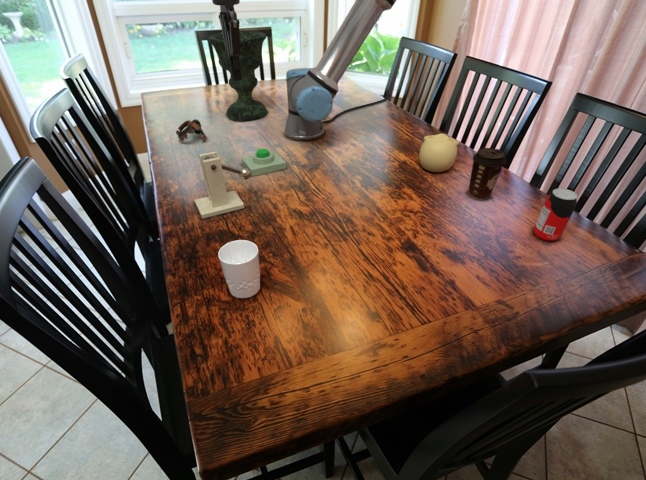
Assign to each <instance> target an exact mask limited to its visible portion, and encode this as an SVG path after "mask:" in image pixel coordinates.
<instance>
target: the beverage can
mask: <svg viewBox="0 0 646 480" xmlns="http://www.w3.org/2000/svg"><path fill="white" fill-rule="evenodd" d="M577 198H578V195H577V193H576V192H574V191H573V190H572V189H571V190H570V189H568V188H560V187H559V188H555V189H553V190H552V192H551V193H549V194H548V195H547V197H546V199H545V201H544V204H543V206H542V208H541V210H540V213H539V214H538V217H537V218H536V219H537V220H536V221H535V224H534V227H533V233H534V234H535V236H536V237H537V238H539V239H540V240H542V241H546V242H553V241H557V240H559V239H560V238H561V237H562V235H563V233H564V231H565V229H566V227H567V225H568V223H569V221H570V219H571V217H572V215H573V213H574V210H576V207H577V205H578V200H577Z"/></svg>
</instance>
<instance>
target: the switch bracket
mask: <svg viewBox="0 0 646 480" xmlns="http://www.w3.org/2000/svg"><path fill="white" fill-rule="evenodd" d="M217 155H218V154H217V151H211V152H205V153H201V154H198V157H199V162H200V165H201V170H202V174H203V175H202V176H203V179H204V183H205V189H206V192H207V196H205V197H200V198H196V199H194V204H195V206H196V208H197V211H198V213H199V215H200V218H201V219H202V220H203V219H207V218H211V217H215V216H218V215H219V216H220V215H222V214H227V213H231V212H234V211H235V212H236V211H238V210H242V209H243V210H244V209H246V208H245V207H246V206H245V204H244V202H243V201H242V199H241V197H240V196H239V194H238V193H237V191H236V190H230V191H227V187H226V182H225V177H224V171H223V170H224V169H222V165H221V164H222V160H221V158H220V157H219V156H217ZM206 156H209V157H212V158H213V159H208V160H205V158H206Z"/></svg>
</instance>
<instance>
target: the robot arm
mask: <svg viewBox="0 0 646 480" xmlns="http://www.w3.org/2000/svg"><path fill="white" fill-rule="evenodd" d="M211 1H212V4H213V5H215V6H219V10H220V12H219V14H218V20H219V23H220V28H221V32H222V33H223V38H224V43H225V48H226V52H227V53H228V58H229V61H230V68H231V75H232V80H233V81H239V80H242V76H241V69H240V61H239V56H241V49H240V33H239V31H240V22H241V21H240V20H239V18H238V14H237V12H236V10H235V5H239V4H240V2H241V0H211ZM396 2H397V0H355V1H354V3H353V4H352V6H351V7H350V10H349V11H348V12H347V14H346V16H345V17H344V20H343V21H342V23H341V25H340V26H339V28H338V30H337V32H336V33H335V34H334V36H333V38H332V40H331V42H330V43H329V44H328V47H327V48H326V50H325V51H324V53H323V54H322V57H321V58H320V60H319V61H318V63H317V64H316V66H315V67H301V68H300V67H299V68H292V69H288V70H287V71H286V74H285V82H286V95H287V110H288V114H287V118H286V123H285V127H284V135H285V137H286V138H288V139H290V140H294V141H300V142H302V141H314V140H317V139H320V138H321V137H323V136H324V133H325V127H324V124H329V123H331V122H333V121H334V120H336V118H338V117H340V116H341V115H343V114H345V113H348V112H350V111H353V110H357V109H361V108H366V107H370V106H374V105H378V104H380V103H383V102H385V101H387V100H388V99H389V98H390V97H391V93H387V95H386V97H385V98H383V99H380V100H377V101H373V102H370V103H365V104H363V105H357V106H353V107H350V108H348V109H345V110H343V111H340V112H339V113H337V114H335V115H334V116H333V117H332V118H330V119H328V120H325V119H327V118H328V117H329V115H330V114H331V112H332V110H333V106H334V99H335V97H336V96H337V94H338V92H339V83H340V81H341V80H342V77H343V76H344V74H345V73H346V71H347V69H348V68H349V66H350V64H351V63H352V62H353V60H354V59H355V57H356V56H357V53H358V52H359V51H360V49H361V48H362V46H363V44H365V43H364V42H365V41H366V39H367V38H368V37H369V35H370V33H371V31H372V30H373V28H374V27H375V25H376V24H377V22H378V21H379V19H380V18H381V16H382V14H383V13H384V12H385V11H389V10H392V8H393V7H394V5H395V3H396Z"/></svg>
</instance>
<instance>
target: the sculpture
mask: <svg viewBox="0 0 646 480" xmlns="http://www.w3.org/2000/svg"><path fill="white" fill-rule="evenodd" d="M459 145H460V141H458V140H457V139H456V138H455V139H454V138H453V137H450V136H448V135H447V134H446V133H438V134H432V135H431V134H430V135H425V136H423V142H422V144H421V146H420V150H419V153H418V160H419V164H420V166H421V167H422V168H423V169H424V170H425V171H429V172H431V173H442V172H445V171H448V170H449V169H450V168H452V166H453V165H454V163H455V161H456V158H457V156H458V146H459Z"/></svg>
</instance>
